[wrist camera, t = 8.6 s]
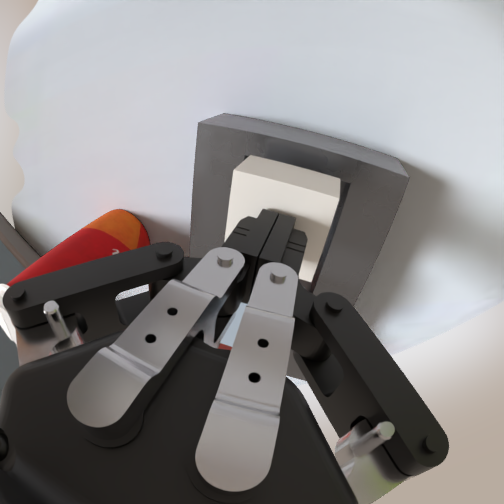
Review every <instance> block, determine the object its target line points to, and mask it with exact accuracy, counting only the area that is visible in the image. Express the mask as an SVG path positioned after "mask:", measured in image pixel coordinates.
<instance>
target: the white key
mask: <svg viewBox="0 0 504 504" xmlns="http://www.w3.org/2000/svg"><path fill="white" fill-rule="evenodd" d="M339 199H340V178H336V177H333V176H330V175H326V174H323V173H319V172H316V171H312V170H309V169H305V168H301V167H297V166H294V165H290V164H286V163H282V162H278V161H274V160H270V159H266V158H262V157H257V156H253V155H250V156H249V157H248V158H246V159H245V160H244V161H243V162H242V163H241V164H240V165H238V166H237V167H236V168H235V169H234V170H233V177H232V185H231V192H230V200H229V208H228V216H227V224H226V232H225V241H226V240H227V238H228V237H229V235H230V234H231V232H232V231H233V230H234V228H235V227H236V225H237V224H238V222H239V221H240V220H241V219H243V218H245V217H247V216H251V217H254V218H257V217H258V216H259V214H260V212H261V211H262V209H266V210H270V211H274V212H277V213H279V215H280V213H281V214H285V215H288V216H292V217H295V218H296V221H295V225H294V229H297V230H300V231H303V232H305V234H306V236H307V238H308V241H307V245H306V249H305V253H304V257H303V260H302V264H301V268H300V272H299V279H302V280H305V281H308V282H312V279H313V276H314V273H315V270H316V268H317V265H318V262H319V259H320V256H321V253H322V250H323V248H324V245H325V242H326V239H327V236H328V233H329V230H330V227H331V224H332V221H333V217H334V214H335V211H336V208H337V205H338V202H339ZM225 241H224V242H225Z"/></svg>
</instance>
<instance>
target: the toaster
mask: <svg viewBox="0 0 504 504" xmlns="http://www.w3.org/2000/svg"><path fill="white" fill-rule="evenodd" d="M39 258H41V257H40V256H39V255H38V254H37V253H36V252H35V251H34V249H33V248H32V247H31V246H30V245H29V244H28V243H27V242H26V241H25V240H24V239H23V238H22V237H21V236H20V234H19V233H18V232H17V231H16V230H15V229H14V228H13V226H12V225H11V224H10V223H9V222H8V221H7V220H6V218H5V217H4V216H3V215H2V214H1V212H0V284H8V283H9V282H10V281H11V280H12V279H14V278H15V277H16V276H17V275H19V274H20V273H21V272H22V271H24V270H25V269H26V268H28V267H29V266H30V265H32V264H33V263H34V262H35V261H37V260H38V259H39ZM16 345H17V344H16V343H15V342H14V341H11V339H10V338H9V337H8V336H7V334H6V333H5V331H4V330H3V329H2V327H1V326H0V401H1V395H2V390H3V387H4V385H5V383H6V381H7V379H8V378H9V376H10V375H11V374H12V373H13V372H14V371H15V370H16V369H17V368H18V367H20V366H19V359H18V350H17V346H16Z"/></svg>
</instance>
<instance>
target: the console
mask: <svg viewBox="0 0 504 504" xmlns="http://www.w3.org/2000/svg"><path fill="white" fill-rule="evenodd" d="M250 155H253V156H257V157H262V158H266V159H270V160H274V161H278V162H282V163H286V164H290V165H294V166H297V167H301V168H305V169H309V170H312V171H316V172H319V173H323V174H326V175H330V176H333V177H336V178H340V199H339V202H338V205H337V208H336V211H335V214H334V217H333V221H332V224H331V227H330V230H329V233H328V236H327V239H326V242H325V245H324V248H323V250H322V253H321V256H320V259H319V262H318V265H317V268H316V270H315V273H314V276H313V279H312V282H308V281H305V280H302V279H299V281H300V283H301V285H302V286H303V287H305V289H306V290H307V291H309V292H310V293H312V294H314V295H315V296H317V295H319V294H320V293H323V292H333V293H337V294H339V295H341V296H343V297H344V298H346V299H347V300H348V301H349V302H350V303H351V305H352V306H354V304H355V302H356V300H357V298H358V296H359V294H360V292H361V290H362V288H363V286H364V284H365V282H366V280H367V278H368V276H369V274H370V272H371V269H372V267H373V265H374V263H375V261H376V259H377V256H378V254H379V252H380V250H381V248H382V245H383V243H384V241H385V238H386V236H387V234H388V232H389V229H390V227H391V224H392V222H393V220H394V217H395V215H396V212H397V210H398V207H399V205H400V202H401V199H402V197H403V194H404V192H405V189H406V186H407V184H408V181H409V176H408V174H407V173H406V171H405V169H404V168H403V166H402V165H401V163H400V161H399V160H398V159H397V158H395V157H392V156H389V155H386V154H383V153H380V152H378V151H375V150H372V149H369V148H365V147H362V146H359V145H356V144H353V143H350V142H346V141H343V140H340V139H336V138H333V137H329V136H325V135H322V134H318V133H314V132H311V131H307V130H303V129H299V128H294V127H290V126H286V125H282V124H277V123H273V122H268V121H263V120H258V119H253V118H248V117H242V116H237V115H231V114H225V113H223V114H220V115H217V116H215V117H212V118H209V119H206V120H204V121H201V122H198V130H197V140H196V152H195V164H194V178H193V193H192V210H191V231H190V257H193V258H203V257H204V256H205V255H206V254H207V253H208V252H209V251H210V250H212V249H215V248H219V247H222V245H223V244H224V241H225V232H226V224H227V216H228V208H229V200H230V192H231V185H232V177H233V170H234V169H235V168H236V167H237V166H238V165H240V164H241V163H242V162H243V161H244V160H245V159H246V158H248V157H249V156H250ZM219 345H220V343H219ZM219 345H218V347H219ZM218 347H217V348H218ZM286 375H287V376H290V377H294V378H298V379H301V380H305V381H306V379H305V377H304V375H303V374H302V372H301V370H300V368H299V367H298V365H297V363H296V361H295V359H294V357H293V350H292V349H290V355H289V361H288V367H287V372H286Z"/></svg>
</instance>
